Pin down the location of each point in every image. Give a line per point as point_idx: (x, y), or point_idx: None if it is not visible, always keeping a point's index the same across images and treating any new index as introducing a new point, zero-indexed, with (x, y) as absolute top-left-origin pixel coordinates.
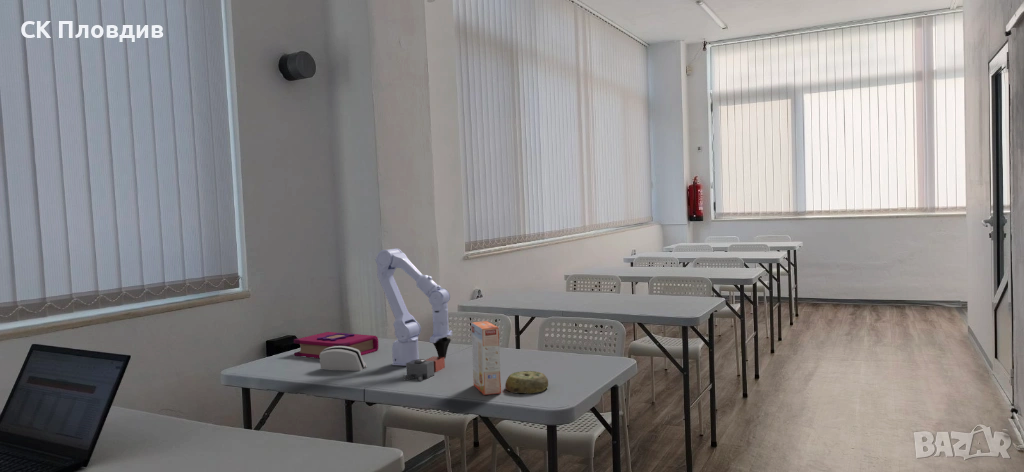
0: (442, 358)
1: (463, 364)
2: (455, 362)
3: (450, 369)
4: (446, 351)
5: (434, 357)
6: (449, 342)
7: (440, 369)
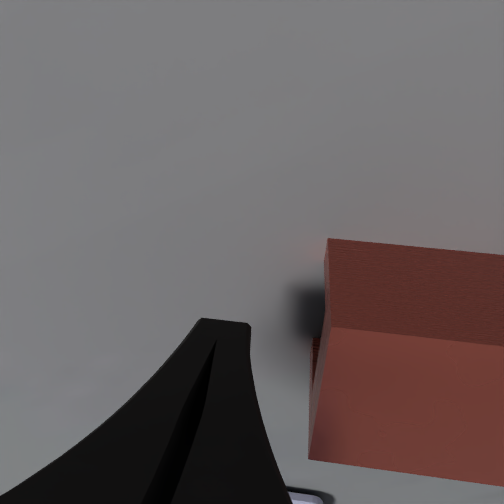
0: (404, 327)
1: (108, 49)
2: (50, 205)
3: (439, 125)
4: (171, 377)
5: (381, 434)
6: (17, 498)
7: (452, 251)
